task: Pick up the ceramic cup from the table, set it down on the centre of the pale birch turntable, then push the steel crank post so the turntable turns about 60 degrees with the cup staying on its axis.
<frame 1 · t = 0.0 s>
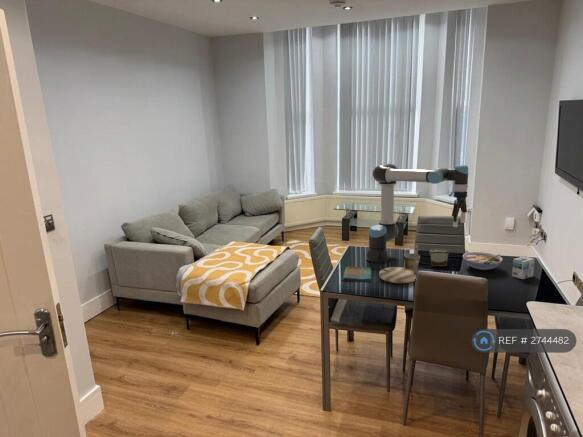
hand: (458, 224, 248), 28 cm above the table, tool pointing down, fingers open, 13 cm apart
light bulb box: (522, 276, 235), on the table
ceramic cup: (411, 270, 252), on the table
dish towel: (357, 275, 249), on the table
food container: (437, 264, 261), on the table
turntable: (398, 261, 236), point 11 cm above the table, hinge at 0.0°
ramen bowl: (481, 268, 250), on the table
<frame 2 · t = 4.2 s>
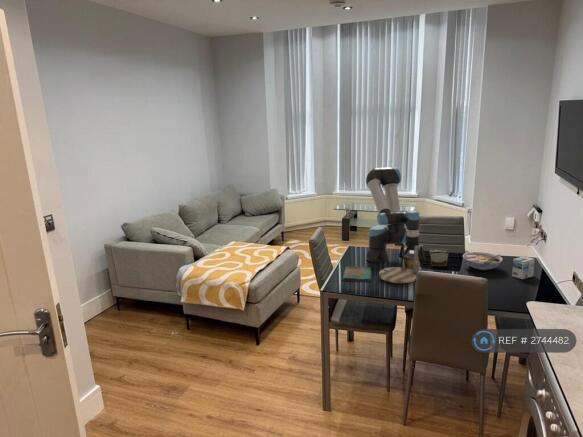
hand: (411, 269, 252), 0 cm above the table, tool pointing down, fingers open, 10 cm apart
ceramic cup: (411, 270, 253), on the table, touching gripper
everything else where it was.
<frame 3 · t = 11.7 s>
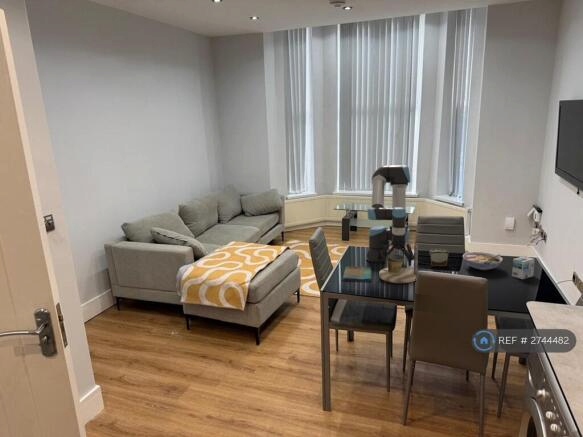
hand: (398, 268, 237), 6 cm above the table, tool pointing down, fingers open, 12 cm apart
ceramic cup: (394, 271, 239), point 4 cm above the table, touching gripper
everything else where it was.
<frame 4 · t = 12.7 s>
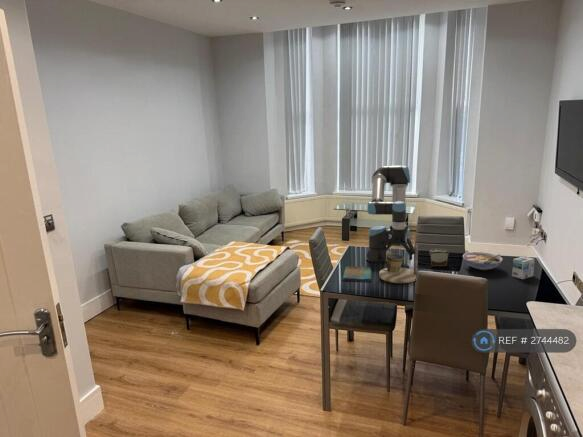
hand: (398, 262, 237), 10 cm above the table, tool pointing down, fingers open, 13 cm apart
ceramic cup: (393, 271, 240), point 4 cm above the table, touching gripper, turntable
turntable: (398, 261, 236), point 11 cm above the table, hinge at 0.0°, touching ceramic cup
everything else where it was.
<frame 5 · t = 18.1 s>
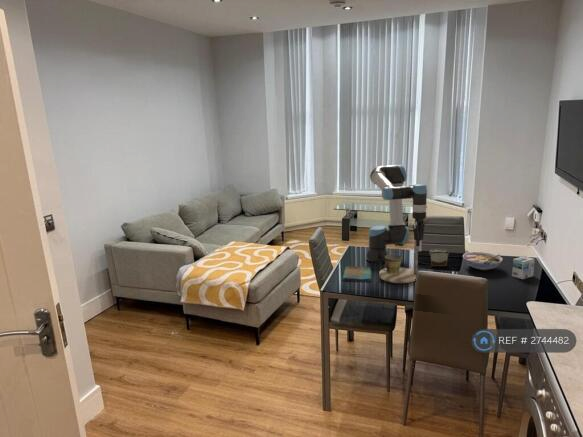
hand: (418, 250, 234), 18 cm above the table, tool pointing down, fingers closed
ceramic cup: (393, 272, 240), point 4 cm above the table, touching turntable
turntable: (398, 261, 236), point 11 cm above the table, hinge at -0.6°, touching ceramic cup, gripper
everything else where it was.
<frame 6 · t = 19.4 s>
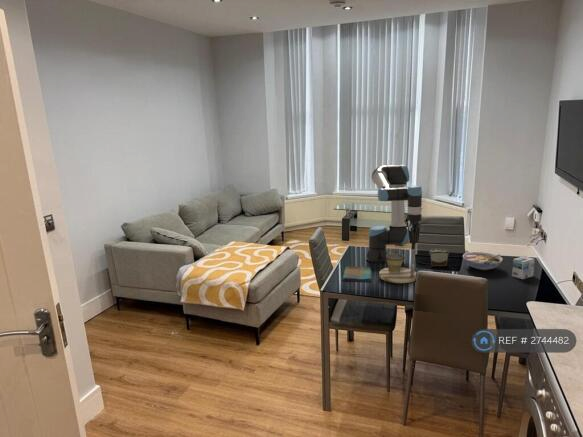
hand: (414, 253, 228), 18 cm above the table, tool pointing down, fingers closed
ceramic cup: (396, 271, 241), point 4 cm above the table, touching turntable
turntable: (398, 261, 236), point 11 cm above the table, hinge at -41.1°, touching ceramic cup, gripper
everything else where it was.
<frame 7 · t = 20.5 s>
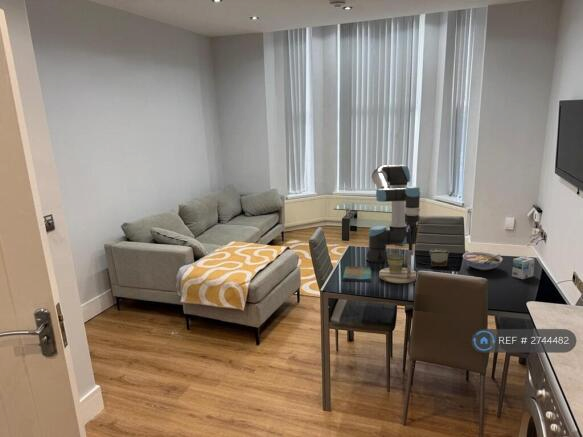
hand: (411, 254, 227), 17 cm above the table, tool pointing down, fingers closed
turntable: (398, 261, 236), point 11 cm above the table, hinge at -56.8°, touching ceramic cup, gripper
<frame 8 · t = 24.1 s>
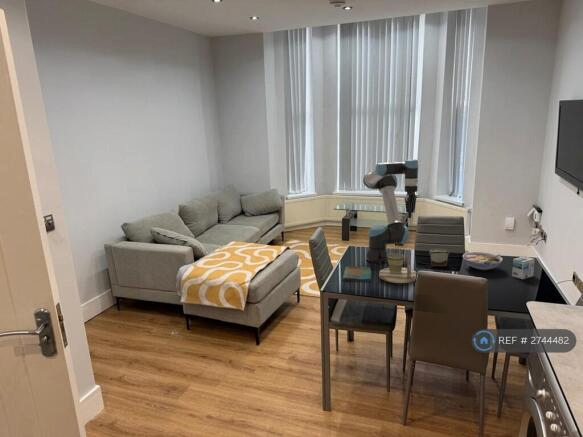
hand: (410, 222, 248), 30 cm above the table, tool pointing down, fingers closed
turntable: (398, 261, 236), point 11 cm above the table, hinge at -56.9°, touching ceramic cup
everything else where it was.
at the end: ceramic cup 3.1 cm from the turntable (horizontally); ceramic cup tilted 0°; turntable at -57° (first picture: +0°) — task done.
